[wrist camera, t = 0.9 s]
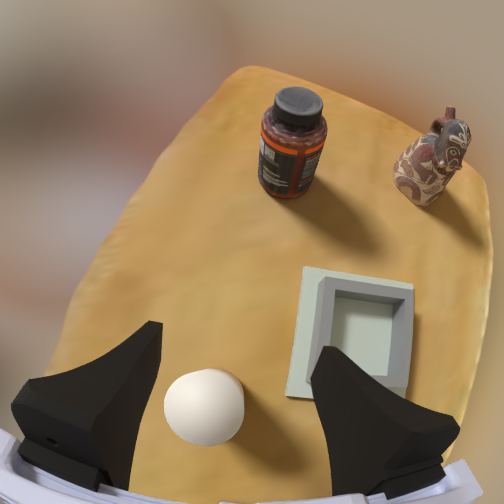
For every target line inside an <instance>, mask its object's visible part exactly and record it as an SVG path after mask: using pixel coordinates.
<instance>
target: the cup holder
mask: <svg viewBox="0 0 504 504" xmlns="http://www.w3.org/2000/svg"><path fill="white" fill-rule="evenodd" d="M413 317H414V290H413V284H411V283H405V282H399V281H392V280H386V279H380V278H374V277H368V276H361V275H355V274H349V273H343V272H337V271H331V270H325V269H319V268H313V267H307V266H304V267H303V272H302V281H301V289H300V297H299V305H298V313H297V320H296V327H295V334H294V341H293V348H292V354H291V360H290V367H289V373H288V379H287V385H286V391H285V396H293V397H303V398H313V394H312V388H311V381H310V377H311V375H312V373H313V370H314V368H315V365H316V363H317V361H318V358H319V356H320V353H321V351H322V348H323V346H335V347H337V348H338V349H340V350H341V351H342V352H343V353H344V354H345V355H347V356H348V357H349V358H350V359H351V360H352V361H353V362H355V363H356V364H357V365H358V366H359V367H360V368H361V369H363V370H364V371H365V372H366V373H367V374H369V375H370V376H371V377H372V378H374V379H375V380H376V381H378V382H379V383H380V384H382V385H383V386H384V387H386V388H387V389H389V390H391V391H392V392H394V393H395V394H397V395H399V396H401V397H402V398H404V399H405V395H406V388H407V386H408V379H409V370H410V361H411V350H412V337H413Z"/></svg>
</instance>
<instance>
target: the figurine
mask: <svg viewBox="0 0 504 504" xmlns="http://www.w3.org/2000/svg"><path fill="white" fill-rule="evenodd" d="M441 128H443V130H442V132H441ZM470 141H471V134H470V130H469V127H468V126H467V124H466V123H465V122H464V121H462V120H459V119H455V107H452V106H447V108H446V114H445V118H437V119H435V120H434V122H433V123H432V126H431V128H430V130H429V132H428V134H426V135H424V136H422V137H420V138H419V139H417V140H416V141H415V142H414V143H413V144H412V145H411V146H409V147H408V148H407V149H406V150H405V151H404V152H403V153H402V154H401V155H400V157H399V158H398V160H397V161H396V163H395V165H394V169H393V180H394V182H395V185H396V186H397V187H398V188H399V190H400V191H401V192H402V193H403V194H404V195H405V196H406V197H408V198H409V199H410V200H411V201H412V203H414V204H416V205H422V206H428V205H429V204H430V203H432V202H433V201H434V200H435V199H437V198H438V197H439V196H440V195H441V194H442V192H443V190H444V188H445V186H446V185H447V183H448V182H449V181H450V179H451V178H452V176H453V175H454V174H455V172H456V170H461V168H462V165H461V164H462V159H463V156H464V155H465V153H466V150H467V147H468V145H469V143H470Z"/></svg>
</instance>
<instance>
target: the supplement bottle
mask: <svg viewBox="0 0 504 504" xmlns="http://www.w3.org/2000/svg"><path fill="white" fill-rule="evenodd" d="M322 109H323V102H322V99H321V98H320V97H319V96H318V95H317V94H316V93H315V92H313V91H311V90H309V89H306V88H303V87H286V88H283V89H281V90H280V91H278V92H277V94H276V96H275V102H274V105H272V106H271V107H270V108H268V109H267V110H266V112H265V113H264V115H263V117H262V123H261V136H260V152H259V167H258V177H259V181H260V183H261V185H262V186H263V188H264V189H265V190H266V191H267V192H269V193H270V194H272V195H274V196H276V197H280V198H294V197H298V196H300V195H302V194H303V193H305V192H306V191H307V190H308V188H309V187H310V185H311V182H312V180H313V176H314V173H315V170H316V167H317V164H318V161H319V158H320V155H321V152H322V149H323V146H324V143H325V139H326V136H327V123H326V120H325V118H324V117H323V116H322Z"/></svg>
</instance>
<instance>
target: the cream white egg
mask: <svg viewBox="0 0 504 504" xmlns="http://www.w3.org/2000/svg"><path fill="white" fill-rule="evenodd" d="M164 412H165V416H166V419H167V422H168V424H169V425H170V427H171V428H172V430H173V431H174V432H175V433H176V434H177V435H178V436H179V437H181V438H182V439H184V440H186V441H187V442H190V443H192V444H196V445H200V446H214V445H218V444H221V443H224V442H226V441H227V440H229V439H230V438H232V437H233V436H234V435H235V434H236V433H237V432H238V430H239V429H240V427H241V425H242V422H243V419H244V391H243V387H242V385H241V383H240V381H239V380H238V379H237V377H236V376H234V375H233V374H232V373H231V372H229V371H227V370H224V369H221V368H208V369H204V370H200V371H196V372H192V373H188V374H186V375H183V376H182V377H180V378H178V379H177V380H176V381H175V382H174V383H173V384H172V385H171V386H170V388H169V389H168V391H167V393H166V396H165V400H164Z"/></svg>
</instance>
